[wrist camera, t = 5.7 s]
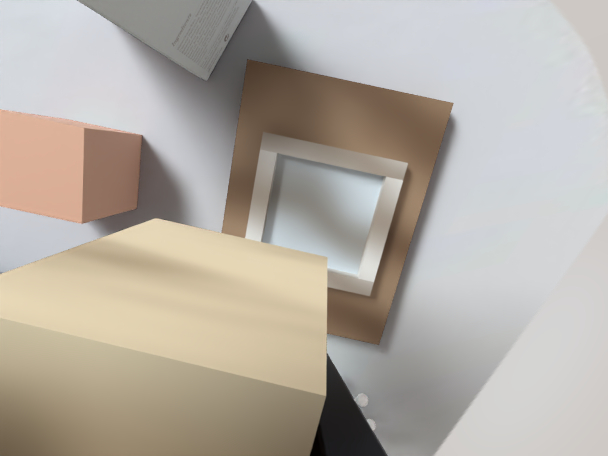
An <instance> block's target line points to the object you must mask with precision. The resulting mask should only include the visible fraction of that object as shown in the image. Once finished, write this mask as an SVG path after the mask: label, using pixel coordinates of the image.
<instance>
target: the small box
mask: <svg viewBox="0 0 608 456" xmlns="http://www.w3.org/2000/svg"><path fill="white" fill-rule="evenodd" d="M77 1H79V2H80V3H82V4H84V5H85V6H87V7H89V8H90V9H92V10H93V11H95V12H96V13H98V14H100V15H101V16H103V17H104V18H106V19H107V20H109V21H111V22H112V23H114V24H115V25H117V26H118V27H120V28H122V29H123V30H125V31H126V32H128V33H129V34H131V35H133V36H134V37H136V38H137V39H139V40H140V41H142V42H143V43H145V44H146V45H148V46H150V47H151V48H153V49H154V50H156V51H157V52H159V53H161V54H162V55H164V56H165V57H167V58H169V59H170V60H172V61H173V62H175V63H177V64H178V65H180V66H181V67H183V68H185V69H186V70H188V71H189V72H191V73H193V74H194V75H196V76H198V77H199V78H201V79H203V80H205V81H207V80H208V78H209V76H210V74H211V72H212V71H213V69H214V67H215V65H216V64H217V62H218V60H219V58H220V57H221V55H222V53H223V51H224V49H225V48H226V46H227V44H228V42H229V40H230V39H231V37H232V35H233V33H234V32H235V30H236V28H237V26H238V24H239V23H240V21H241V19H242V17H243V16H244V14H245V12H246V10H247V9H248V7H249V5H250V3H251V1H252V0H77Z"/></svg>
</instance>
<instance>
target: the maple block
mask: <svg viewBox="0 0 608 456" xmlns="http://www.w3.org/2000/svg"><path fill="white" fill-rule="evenodd" d="M327 262H328V257H325V256H321V255H316V254H312V253H307V252H303V251H299V250H294V249H290V248H285V247H281V246H277V245H272V244H268V243H263V242H259V241H255V240H250V239H246V238H241V237H237V236H233V235H228V234H224V233H219V232H215V231H211V230H206V229H202V228H197V227H193V226H189V225H184V224H180V223H175V222H171V221H167V220H162V219H158V218H155V219H152V220H149V221H146V222H144V223H141V224H138V225H135V226H132V227H130V228H127V229H124V230H121V231H118V232H116V233H113V234H110V235H107V236H105V237H102V238H99V239H96V240H93V241H91V242H88V243H85V244H82V245H80V246H77V247H74V248H71V249H68V250H66V251H63V252H60V253H57V254H55V255H52V256H49V257H46V258H43V259H41V260H38V261H35V262H32V263H29V264H27V265H24V266H21V267H18V268H16V269H13V270H10V271H7V272H4V273H2V274H0V456H310V453H311V449H312V445H313V442H314V438H315V435H316V431H317V427H318V424H319V420H320V417H321V413H322V409H323V406H324V402H325V399H326V364H327Z"/></svg>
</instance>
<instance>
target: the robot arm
mask: <svg viewBox="0 0 608 456" xmlns="http://www.w3.org/2000/svg"><path fill="white" fill-rule="evenodd" d="M310 456H388V455H387V454H386V452H385V450H384V449H383V447H382V445H381V444H380V442H379V440H378V439H377V437H376V435H375V433H374V432H373V430H372V428H371V427H370V425H369V423H368V422H367V420H366V418H365V417H364V415H363V413H362V411H361V410H360V408H359V406H358V405H357V403H356V401H355V400H354V398H353V396H352V395H351V393H350V391H349V389H348V388H347V386H346V384H345V383H344V381H343V379H342V378H341V376H340V374H339V373H338V371H337V369H336V367H335V366H334V364H333V362H332V361H331V359H330V357H329V356H328V354H327V364H326V399H325V402H324V406H323V409H322V413H321V417H320V420H319V424H318V427H317V431H316V435H315V438H314V442H313V445H312V449H311V453H310Z"/></svg>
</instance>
